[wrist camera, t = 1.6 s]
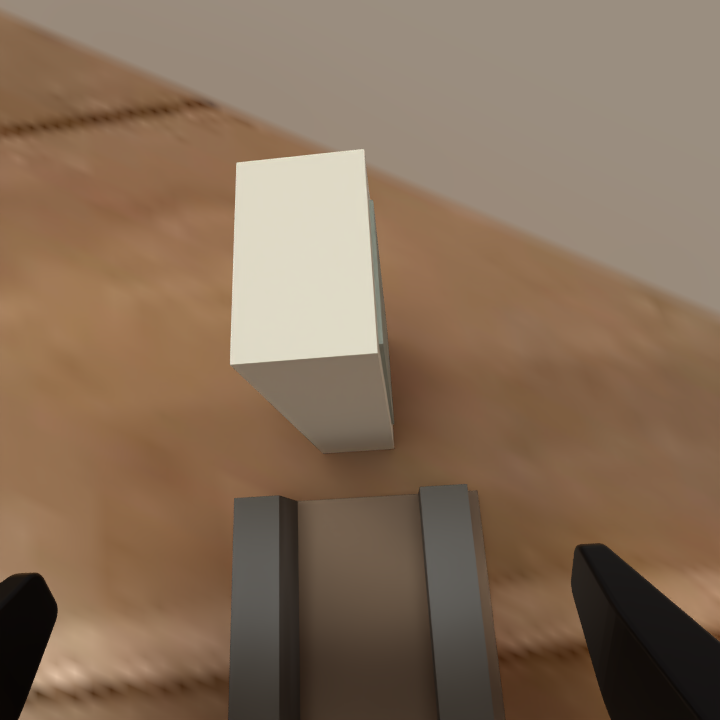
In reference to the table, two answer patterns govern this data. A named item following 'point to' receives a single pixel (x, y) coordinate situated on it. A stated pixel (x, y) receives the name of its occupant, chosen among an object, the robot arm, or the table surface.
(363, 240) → the cream slab
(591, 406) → the table surface
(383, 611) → the display ledge
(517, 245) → the table surface
